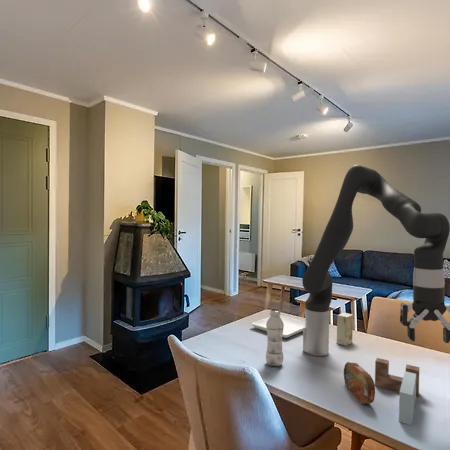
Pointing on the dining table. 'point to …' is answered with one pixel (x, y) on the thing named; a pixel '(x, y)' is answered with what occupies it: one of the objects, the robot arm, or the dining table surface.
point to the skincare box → (344, 328)
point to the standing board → (392, 376)
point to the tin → (359, 383)
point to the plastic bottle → (274, 338)
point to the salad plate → (289, 323)
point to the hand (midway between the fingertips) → (428, 341)
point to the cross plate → (407, 398)
